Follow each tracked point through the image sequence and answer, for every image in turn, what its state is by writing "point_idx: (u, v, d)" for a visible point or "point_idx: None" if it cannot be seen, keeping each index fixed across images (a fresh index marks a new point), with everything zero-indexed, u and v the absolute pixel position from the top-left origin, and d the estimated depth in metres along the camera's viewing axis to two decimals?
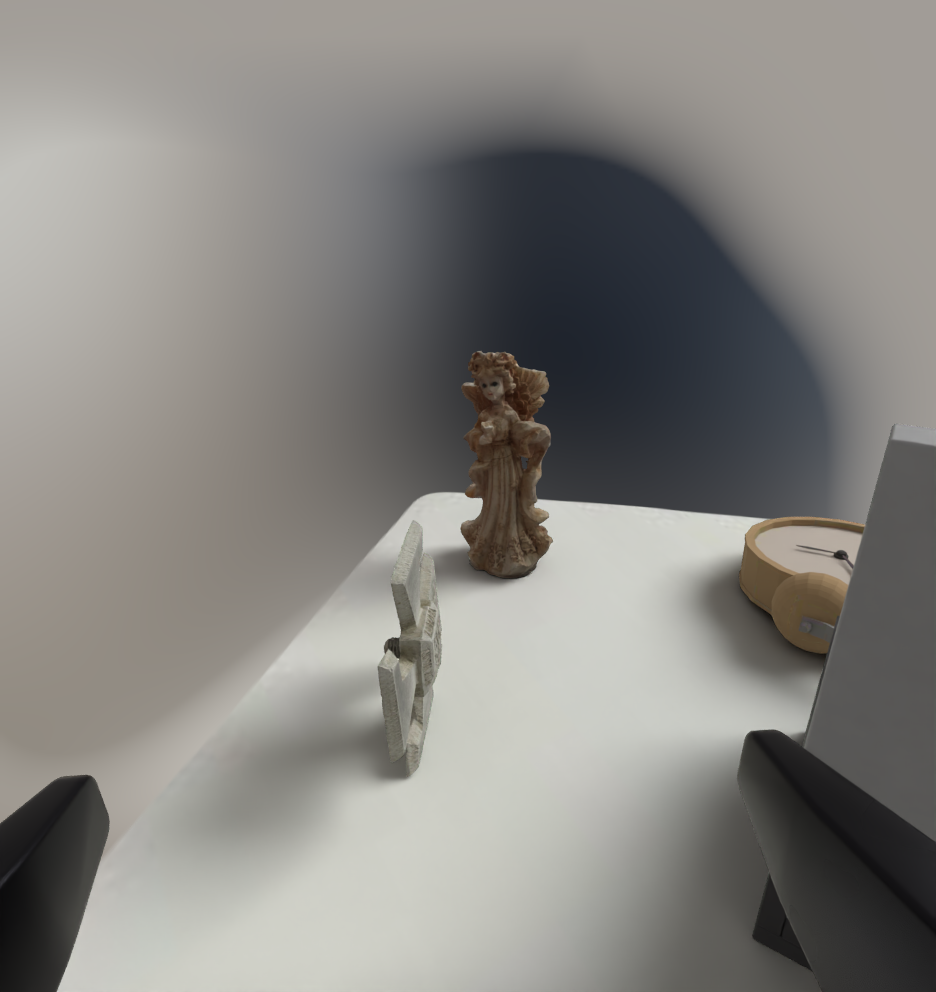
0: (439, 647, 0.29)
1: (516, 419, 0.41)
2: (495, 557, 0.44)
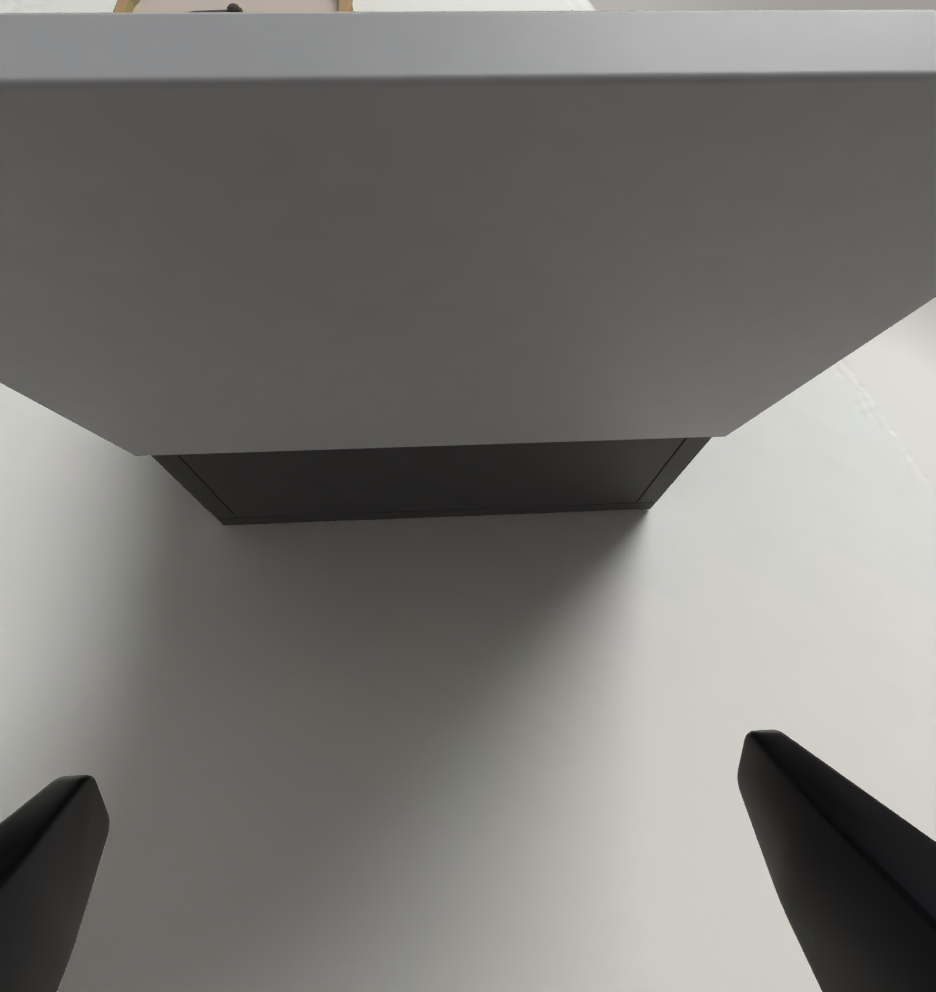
0: None
1: None
2: None
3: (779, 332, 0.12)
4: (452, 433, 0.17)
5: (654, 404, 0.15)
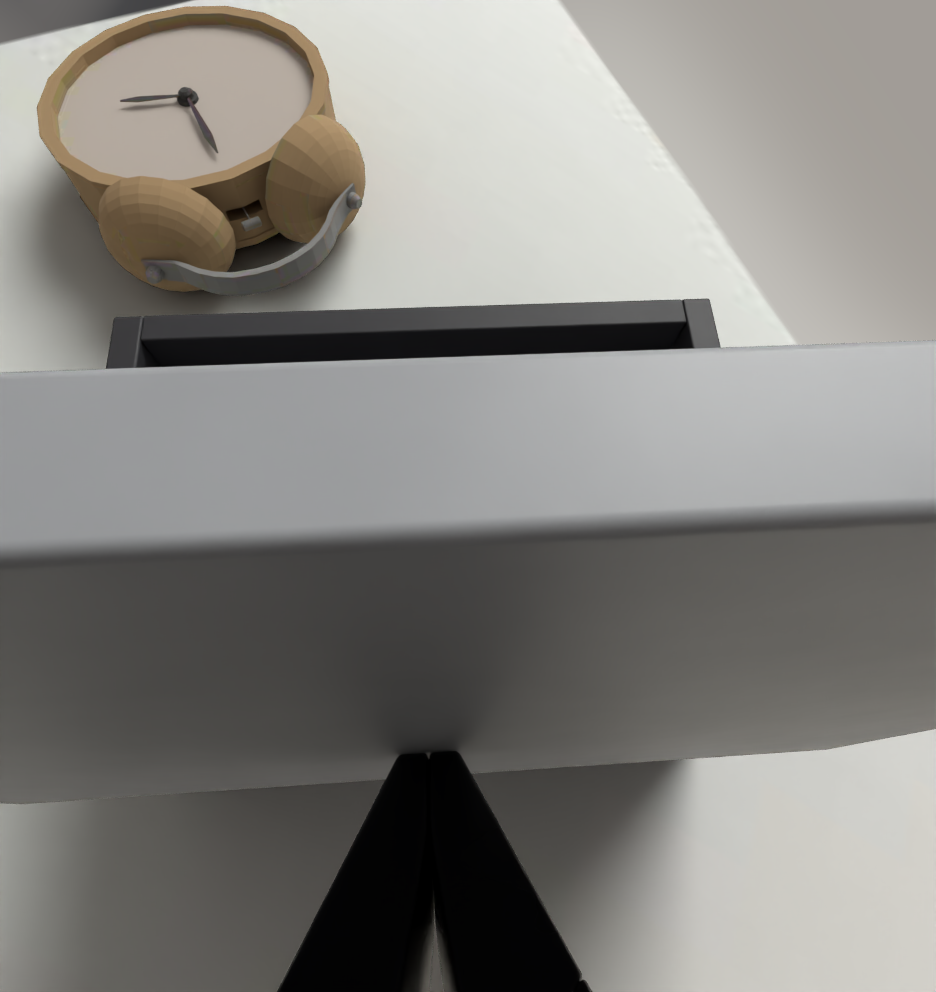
0: None
1: None
2: None
3: None
4: None
5: (746, 743, 0.11)
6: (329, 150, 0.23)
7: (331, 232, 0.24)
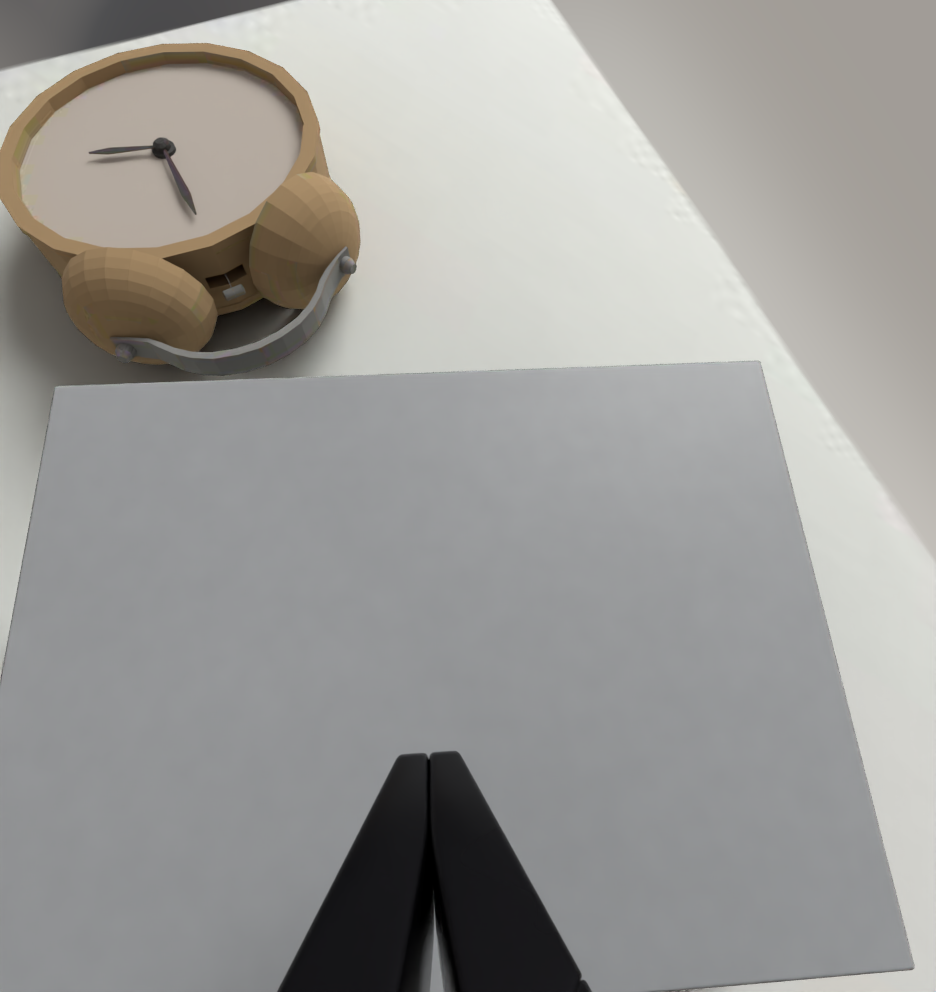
0: None
1: None
2: None
3: (724, 589, 0.13)
4: None
5: (711, 790, 0.12)
6: (320, 213, 0.21)
7: (322, 303, 0.21)
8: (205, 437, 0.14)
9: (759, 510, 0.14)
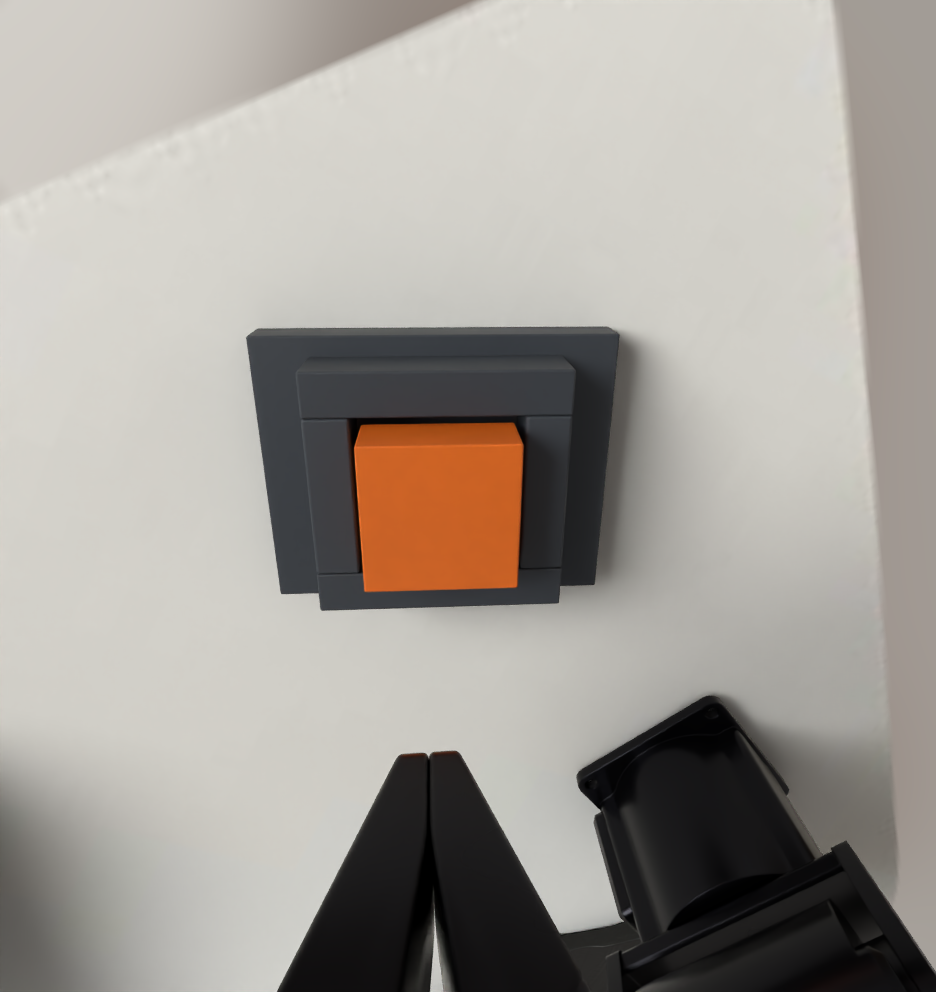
0: None
1: None
2: None
3: None
4: None
5: None
6: None
7: None
8: None
9: None
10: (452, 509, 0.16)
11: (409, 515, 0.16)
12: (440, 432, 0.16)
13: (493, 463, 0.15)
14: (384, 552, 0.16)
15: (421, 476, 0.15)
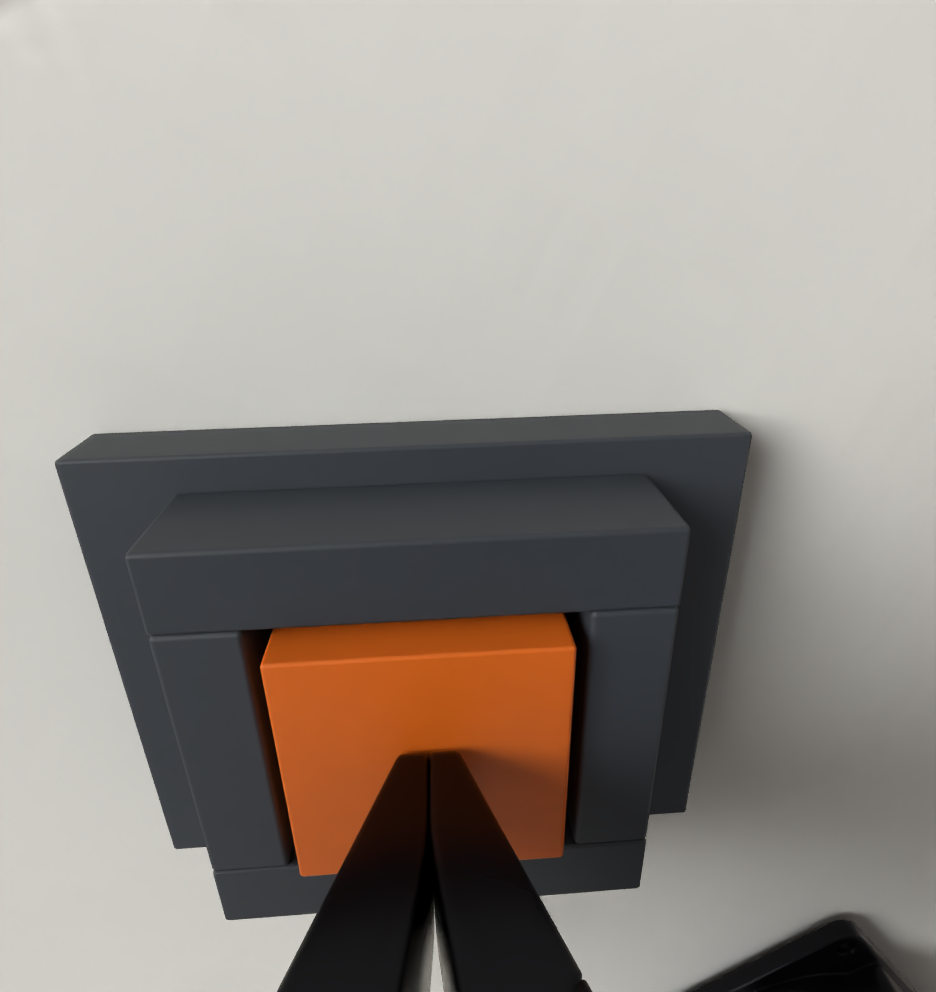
0: None
1: None
2: None
3: None
4: None
5: None
6: None
7: None
8: None
9: None
10: None
11: (370, 766, 0.09)
12: None
13: (520, 680, 0.08)
14: (330, 821, 0.09)
15: (388, 706, 0.08)
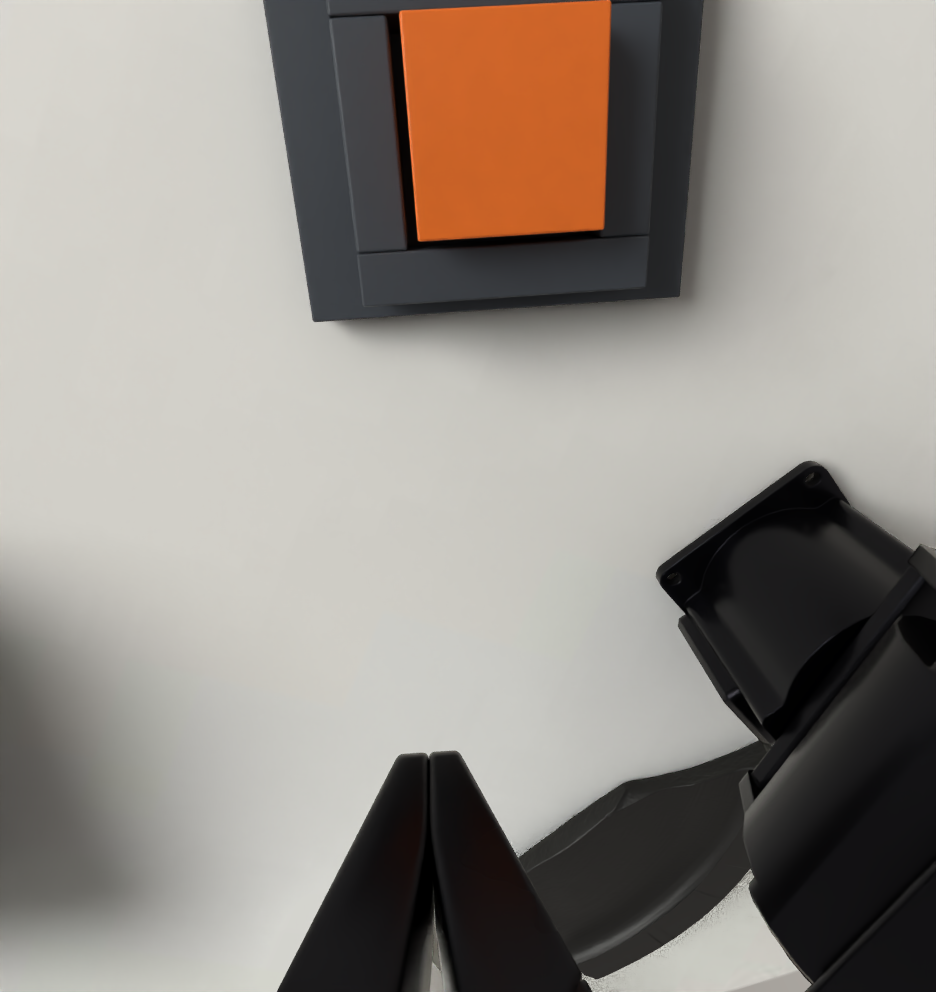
0: None
1: None
2: None
3: None
4: None
5: None
6: None
7: None
8: None
9: None
10: (523, 107, 0.13)
11: (470, 119, 0.13)
12: None
13: (574, 31, 0.12)
14: (441, 178, 0.13)
15: (484, 55, 0.12)
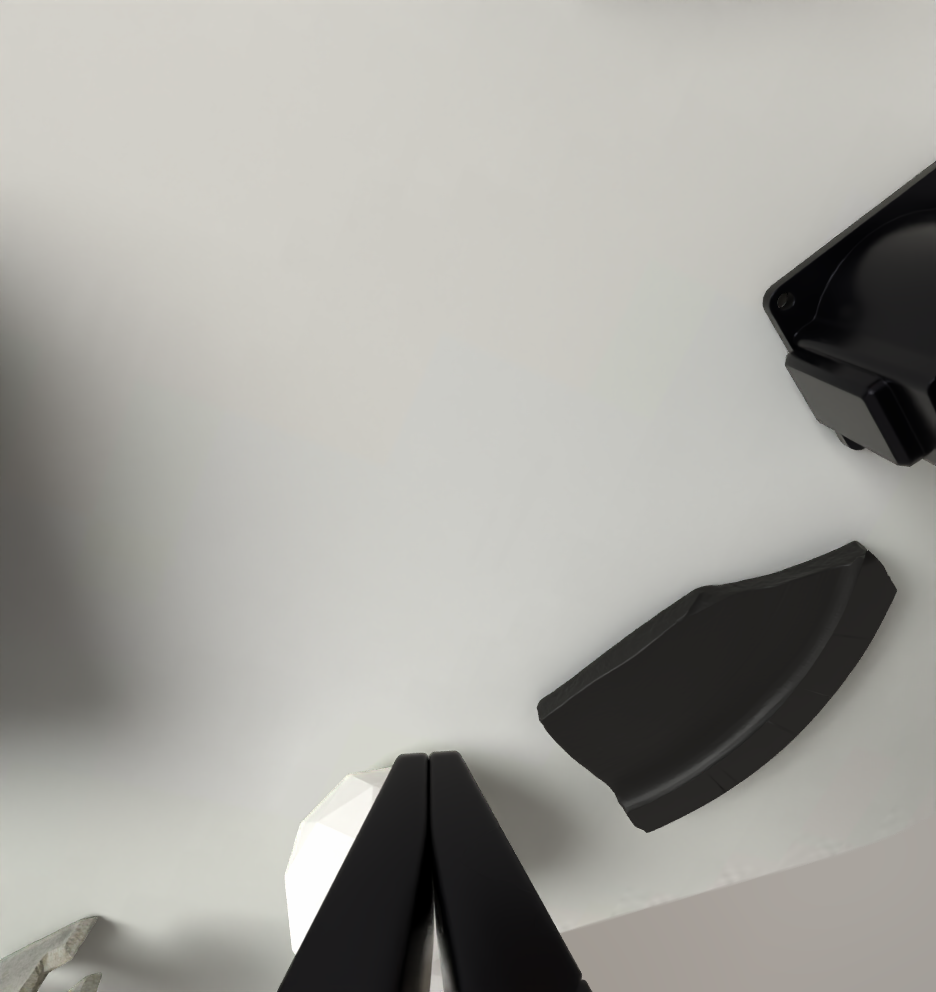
0: None
1: None
2: None
3: None
4: None
5: None
6: None
7: None
8: None
9: None
10: None
11: None
12: None
13: None
14: None
15: None
